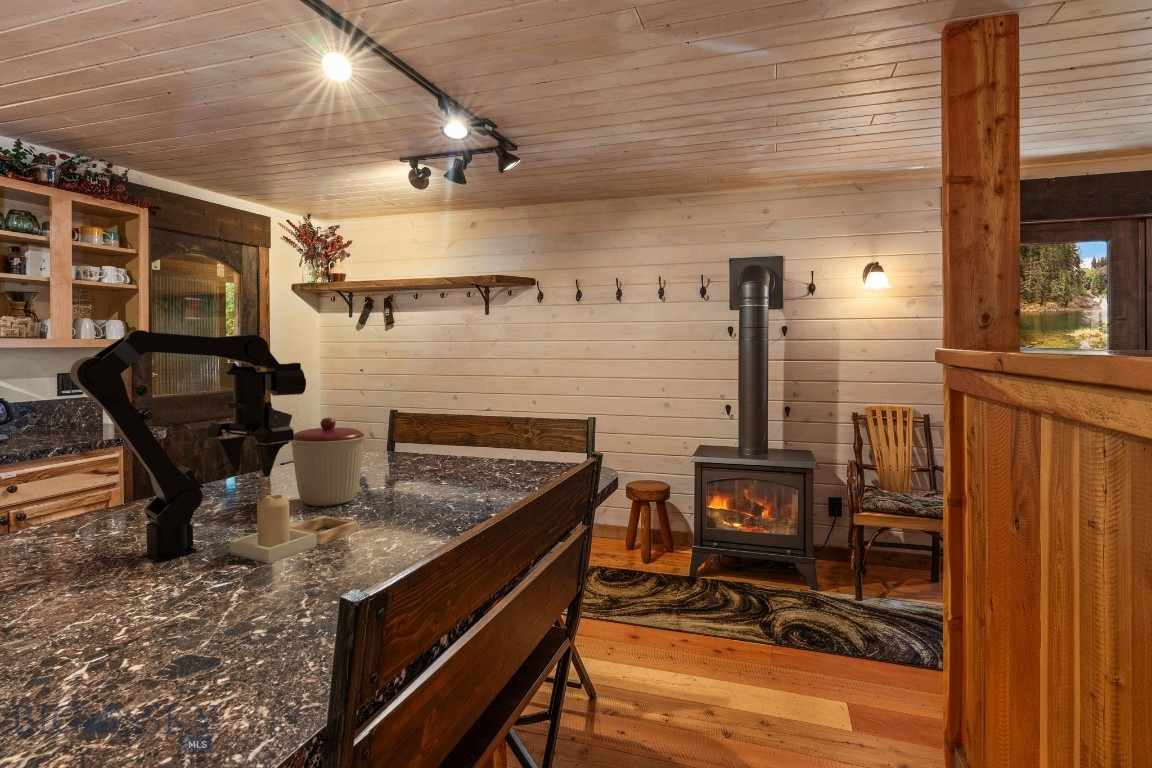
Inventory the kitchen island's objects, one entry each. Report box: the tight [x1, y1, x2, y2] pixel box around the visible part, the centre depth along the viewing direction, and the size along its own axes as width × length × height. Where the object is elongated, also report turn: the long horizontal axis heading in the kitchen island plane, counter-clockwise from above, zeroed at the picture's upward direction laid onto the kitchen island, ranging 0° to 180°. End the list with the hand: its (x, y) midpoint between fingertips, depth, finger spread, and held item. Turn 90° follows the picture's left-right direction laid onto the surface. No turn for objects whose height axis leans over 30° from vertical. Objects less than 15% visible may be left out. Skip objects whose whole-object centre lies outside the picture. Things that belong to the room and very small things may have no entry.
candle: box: [256, 494, 291, 548], centre depth 118 cm, size 6×6×10 cm
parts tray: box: [229, 529, 318, 564], centre depth 118 cm, size 11×11×2 cm
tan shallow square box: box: [290, 515, 359, 545], centre depth 128 cm, size 10×10×2 cm
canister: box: [289, 417, 367, 507], centre depth 155 cm, size 18×18×21 cm
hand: (251, 473), depth 125 cm, fingers open, 9 cm apart
